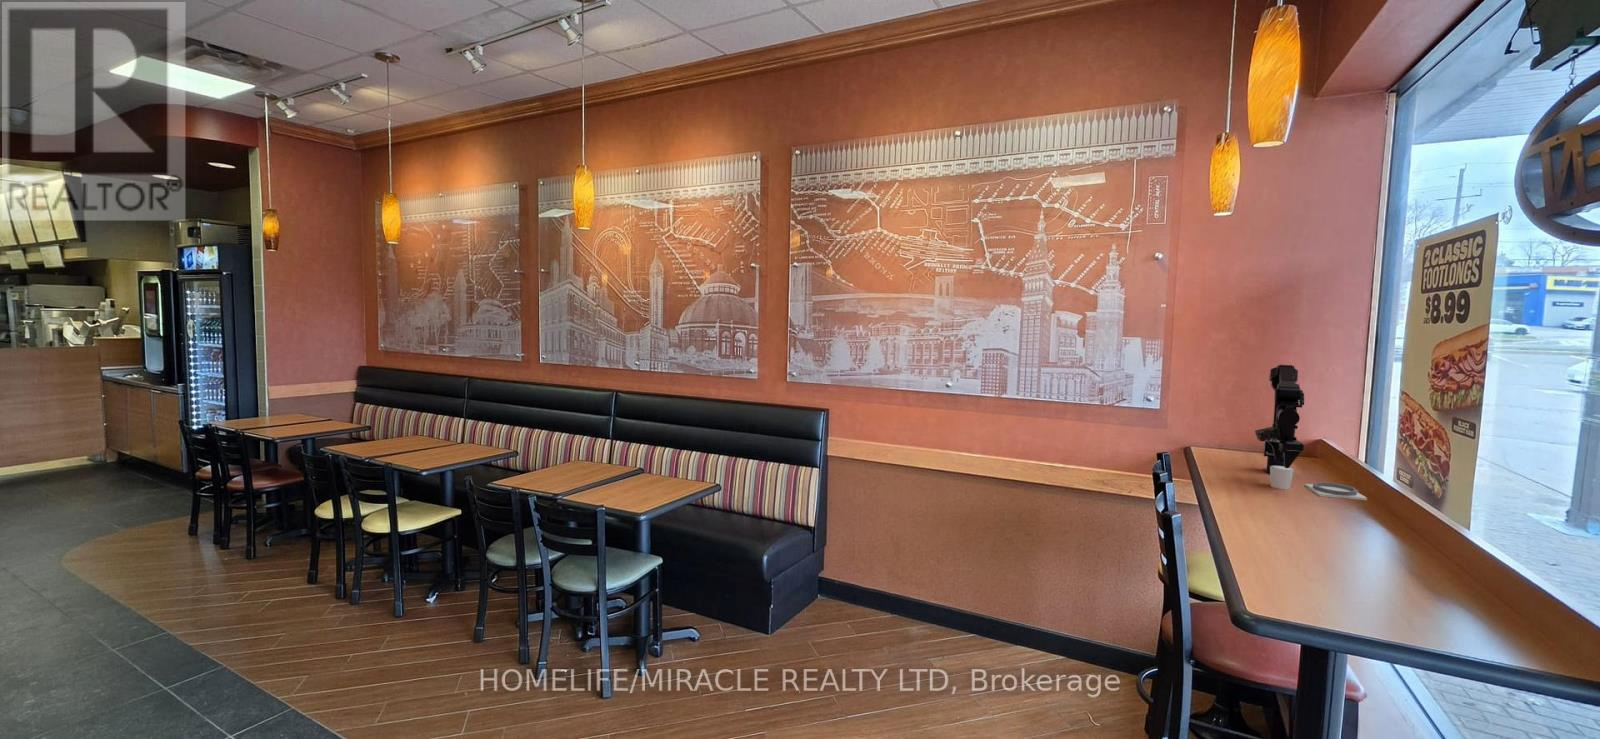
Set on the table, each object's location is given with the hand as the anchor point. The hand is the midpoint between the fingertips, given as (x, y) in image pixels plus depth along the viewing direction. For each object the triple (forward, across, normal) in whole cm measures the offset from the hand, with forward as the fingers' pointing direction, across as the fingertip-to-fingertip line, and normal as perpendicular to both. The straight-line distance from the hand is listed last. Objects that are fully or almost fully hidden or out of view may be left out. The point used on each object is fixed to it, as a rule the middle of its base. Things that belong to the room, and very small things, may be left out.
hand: (1281, 464), depth 232 cm
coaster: (+8, +2, +15) cm, 17 cm away
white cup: (+8, 0, 0) cm, 8 cm away
